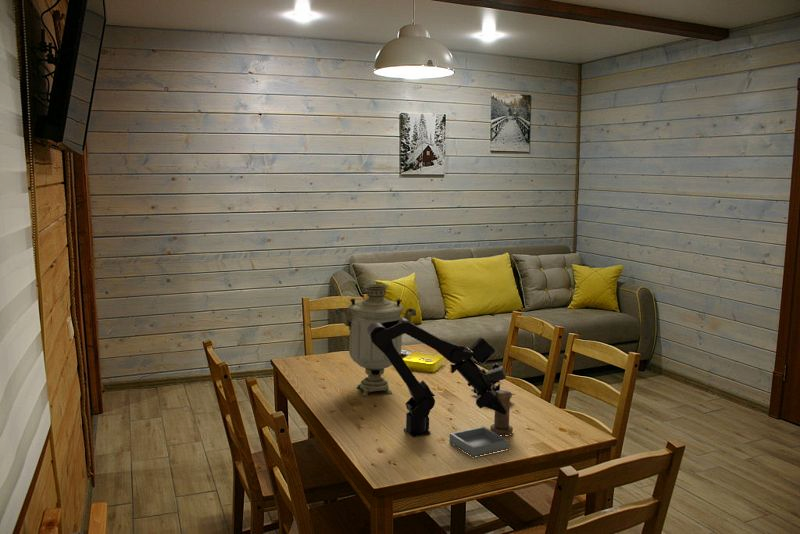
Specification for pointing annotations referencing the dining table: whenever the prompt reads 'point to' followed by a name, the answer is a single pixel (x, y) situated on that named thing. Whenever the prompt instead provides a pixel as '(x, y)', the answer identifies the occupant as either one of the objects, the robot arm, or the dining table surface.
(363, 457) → the dining table surface
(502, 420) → the handle
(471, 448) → the box
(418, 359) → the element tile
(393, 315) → the samovar
